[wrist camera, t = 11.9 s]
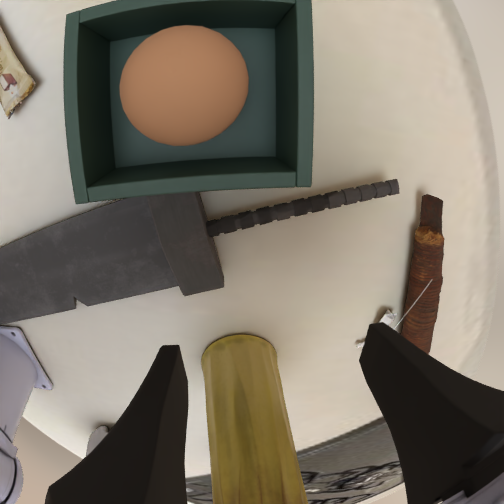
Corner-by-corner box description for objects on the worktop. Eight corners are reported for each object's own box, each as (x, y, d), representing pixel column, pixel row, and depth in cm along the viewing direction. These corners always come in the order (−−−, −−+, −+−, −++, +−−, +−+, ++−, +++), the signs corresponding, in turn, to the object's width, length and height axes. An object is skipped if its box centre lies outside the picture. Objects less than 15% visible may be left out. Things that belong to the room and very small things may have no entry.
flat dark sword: (-42, 259, 16) (-54, 270, 15) (383, 126, 16) (400, 129, 14) (-6, 325, 20) (-16, 338, 18) (392, 233, 19) (406, 245, 17)
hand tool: (400, 396, 31) (416, 414, 28) (380, 408, 30) (395, 428, 27) (430, 185, 19) (466, 198, 16) (401, 193, 18) (439, 209, 15)
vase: (197, 380, 24) (203, 539, 11) (205, 328, 22) (214, 524, 9) (266, 384, 25) (298, 532, 13) (285, 335, 23) (339, 510, 10)
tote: (109, 179, 16) (75, 204, 11) (102, 35, 12) (65, 14, 8) (285, 166, 17) (312, 187, 13) (284, 21, 13) (311, -8, 9)
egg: (124, 115, 14) (67, 121, 8) (171, 30, 12) (146, -19, 6) (210, 156, 16) (208, 185, 10) (259, 72, 14) (293, 45, 8)
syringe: (348, 348, 25) (364, 345, 26) (357, 365, 24) (374, 361, 24) (412, 261, 20) (427, 262, 20) (427, 279, 18) (441, 279, 19)
